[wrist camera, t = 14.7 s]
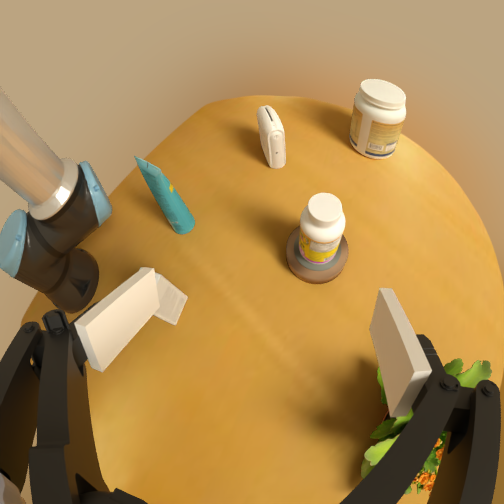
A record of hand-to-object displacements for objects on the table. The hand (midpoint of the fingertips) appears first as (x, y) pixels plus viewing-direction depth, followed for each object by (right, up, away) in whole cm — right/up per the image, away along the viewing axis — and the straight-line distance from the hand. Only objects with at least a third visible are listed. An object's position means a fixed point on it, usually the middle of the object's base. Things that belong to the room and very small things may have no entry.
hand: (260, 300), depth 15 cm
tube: (-15, +8, +42) cm, 45 cm away
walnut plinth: (+11, +2, +35) cm, 37 cm away
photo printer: (+4, +26, +47) cm, 54 cm away
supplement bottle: (+11, +3, +32) cm, 34 cm away
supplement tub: (+29, +29, +45) cm, 62 cm away
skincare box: (-15, -8, +34) cm, 38 cm away
